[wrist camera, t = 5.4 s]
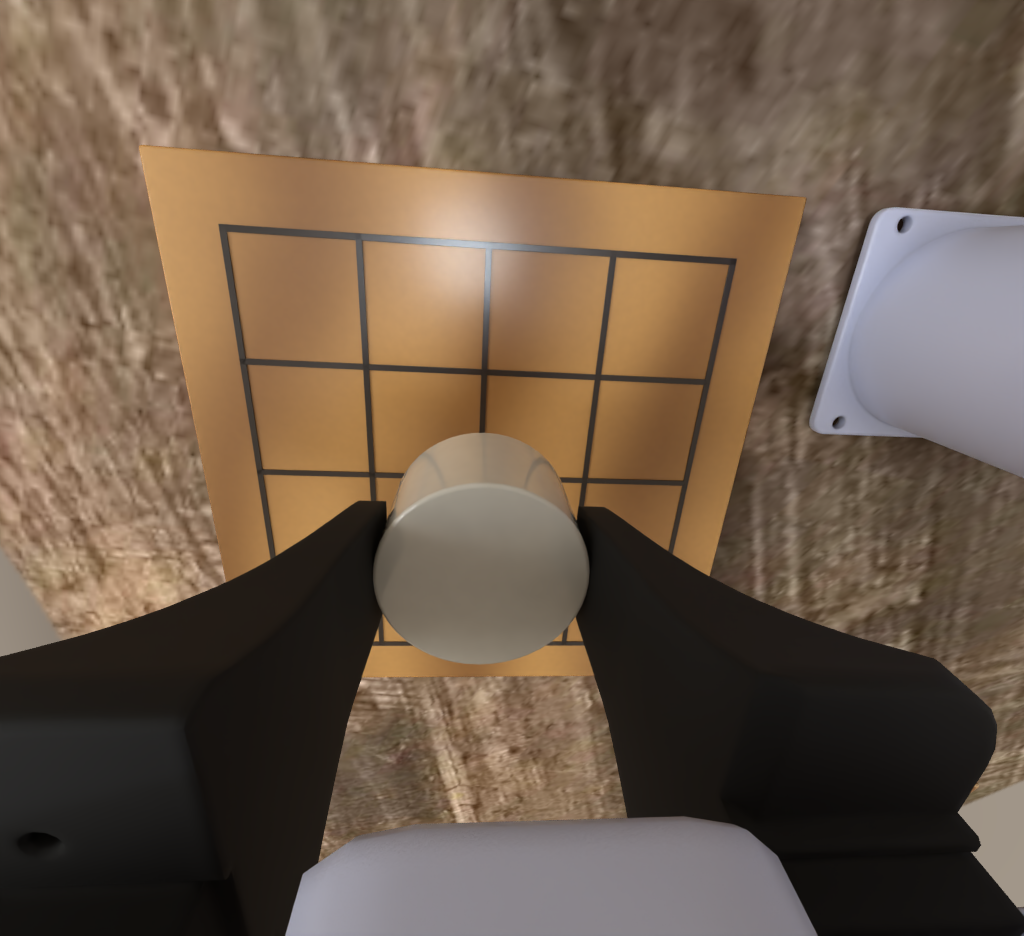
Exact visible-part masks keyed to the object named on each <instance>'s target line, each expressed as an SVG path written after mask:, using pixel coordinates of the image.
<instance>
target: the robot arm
mask: <svg viewBox="0 0 1024 936" xmlns="http://www.w3.org/2000/svg"><path fill="white" fill-rule="evenodd" d="M900 219H902V220H903V227H902V229H901V230H900V231H899V232H898V230H897V224H898V222H899V221H900ZM837 417H839V420H838V422H837V423H836V424H835V425H834V426H832V425H833V421H834V420H835V419H836V418H837ZM809 425H810V428H811V429H812V430H813V431H815V432H817V433H820V434H835V435H863V436H890V437H918V438H925V439H927V440H930V441H932V442H935V443H937V444H940V445H942V446H945V447H947V448H950V449H952V450H955V451H957V452H960V453H962V454H965V455H967V456H970V457H972V458H975V459H977V460H980V461H982V462H985V463H987V464H990V465H992V466H995V467H997V468H999V469H1002V470H1004V471H1007V472H1009V473H1012V474H1014V475H1017V476H1019V477H1022V478H1024V217H1014V216H1002V215H989V214H976V213H963V212H950V211H938V210H925V209H912V208H899V207H893V208H885V209H882V210H880V211H878V212H877V213H876V214H875V215H874V216H873V217H872V219H871V221H870V224H869V227H868V230H867V233H866V237H865V240H864V243H863V246H862V250H861V253H860V256H859V260H858V263H857V266H856V269H855V273H854V276H853V279H852V282H851V286H850V289H849V292H848V295H847V299H846V302H845V305H844V308H843V312H842V315H841V318H840V322H839V325H838V328H837V331H836V335H835V338H834V341H833V344H832V348H831V351H830V354H829V357H828V361H827V364H826V367H825V370H824V374H823V377H822V380H821V384H820V387H819V390H818V393H817V397H816V400H815V403H814V406H813V410H812V413H811V416H810V420H809ZM386 521H387V507H386V501H361V500H359V501H357V502H355V503H354V504H352V505H351V506H349V507H348V508H346V509H345V510H344V511H342V512H341V513H339V514H338V515H337V516H335V517H334V518H333V519H331V520H330V521H328V522H327V523H325V524H324V525H323V526H321V527H320V528H318V529H317V530H315V531H314V532H313V533H311V534H310V535H308V536H307V537H305V538H304V539H302V540H301V541H299V542H297V543H296V544H294V545H293V546H291V547H289V548H288V549H286V550H285V551H283V552H281V553H280V554H278V555H277V556H275V557H273V558H272V559H270V560H268V561H266V562H265V563H263V564H261V565H259V566H257V567H256V568H254V569H252V570H250V571H248V572H246V573H244V574H242V575H240V576H238V577H236V578H234V579H232V580H230V581H228V582H226V583H224V584H221V585H219V586H217V587H215V588H212V589H210V590H208V591H205V592H203V593H200V594H198V595H195V596H193V597H191V598H188V599H186V600H183V601H181V602H179V603H176V604H174V605H171V606H169V607H166V608H164V609H161V610H158V611H155V612H152V613H150V614H147V615H144V616H141V617H138V618H135V619H133V620H129V621H126V622H123V623H120V624H117V625H114V626H111V627H108V628H104V629H101V630H98V631H95V632H91V633H88V634H85V635H81V636H78V637H74V638H70V639H66V640H63V641H59V642H55V643H51V644H47V645H44V646H40V647H36V648H32V649H29V650H25V651H21V652H17V653H13V654H10V655H5V656H1V657H0V936H1024V907H1016V906H1015V905H1014V903H1013V902H1012V901H1011V900H1010V899H1009V897H1008V896H1007V895H1006V894H1005V893H1004V891H1003V890H1002V889H1001V888H1000V887H999V885H998V884H997V883H996V882H995V881H994V879H993V878H992V877H991V876H990V875H989V873H988V872H987V871H986V870H985V869H984V867H983V866H982V865H981V864H980V863H979V861H978V860H977V859H976V858H975V857H974V855H973V854H972V853H971V852H976V851H977V850H978V849H979V847H980V846H981V844H980V841H979V837H978V836H977V835H976V833H975V832H974V831H973V830H972V829H971V828H970V826H969V825H968V824H967V823H966V822H965V821H964V820H963V818H962V817H961V816H960V815H959V814H958V811H959V810H960V808H961V806H962V805H963V803H964V802H965V800H966V799H967V797H968V795H969V794H970V792H971V791H972V789H973V788H974V786H975V784H976V783H977V781H978V780H979V778H980V777H981V775H982V774H983V772H984V770H985V769H986V767H987V765H988V763H989V761H990V759H991V757H992V755H993V752H994V750H995V745H996V735H997V724H996V721H995V718H994V716H993V713H992V710H991V709H990V708H989V707H988V706H987V705H986V704H985V703H984V702H983V701H982V700H981V699H980V698H979V697H978V696H977V695H976V694H975V693H973V692H972V691H971V690H970V689H969V688H968V687H967V686H966V685H964V684H963V683H962V682H961V681H960V680H959V679H958V678H957V677H955V676H954V675H953V674H952V673H951V672H950V671H949V670H948V669H946V668H945V667H944V666H943V665H942V664H941V663H940V662H938V661H937V660H935V659H934V658H930V657H926V656H923V655H919V654H915V653H912V652H908V651H905V650H901V649H897V648H894V647H890V646H886V645H883V644H879V643H875V642H872V641H868V640H865V639H861V638H858V637H855V636H851V635H848V634H845V633H842V632H839V631H837V630H834V629H831V628H828V627H825V626H822V625H819V624H816V623H813V622H810V621H808V620H805V619H802V618H800V617H797V616H794V615H792V614H789V613H787V612H784V611H782V610H779V609H777V608H775V607H772V606H770V605H768V604H765V603H763V602H761V601H758V600H756V599H754V598H751V597H749V596H747V595H745V594H743V593H741V592H739V591H737V590H735V589H733V588H731V587H729V586H727V585H725V584H723V583H721V582H719V581H717V580H715V579H713V578H711V577H710V576H708V575H706V574H704V573H702V572H701V571H699V570H697V569H696V568H694V567H692V566H691V565H689V564H687V563H686V562H684V561H683V560H681V559H679V558H678V557H676V556H675V555H673V554H672V553H670V552H669V551H667V550H666V549H664V548H663V547H661V546H660V545H658V544H657V543H655V542H654V541H652V540H651V539H650V538H648V537H647V536H645V535H644V534H643V533H641V532H640V531H639V530H637V529H636V528H634V527H633V526H632V525H630V524H629V523H628V522H626V521H625V520H623V519H622V518H621V517H619V516H618V515H616V514H615V513H613V512H612V511H610V510H609V509H607V508H605V507H591V506H578V513H577V520H576V521H577V524H578V526H579V529H580V531H581V534H582V537H583V539H584V542H585V545H586V548H587V552H588V556H589V563H590V576H589V585H588V589H587V594H586V596H585V599H584V601H583V604H582V606H581V608H580V610H579V612H578V614H577V615H576V621H577V624H578V627H579V630H580V633H581V636H582V640H583V643H584V646H585V649H586V652H587V655H588V658H589V661H590V664H591V667H592V670H593V673H594V677H595V680H596V683H597V686H598V689H599V692H600V695H601V698H602V701H603V705H604V708H605V712H606V716H607V719H608V723H609V728H610V733H611V738H612V742H613V747H614V752H615V756H616V761H617V766H618V771H619V776H620V781H621V786H622V791H623V797H624V802H625V807H626V812H627V817H628V818H613V819H580V820H546V821H512V822H478V823H444V824H415V825H410V826H405V827H400V828H395V829H390V830H385V831H380V832H375V833H370V834H364V835H359V836H357V837H355V838H354V839H353V840H351V841H350V842H348V843H347V844H345V845H344V846H342V847H341V848H339V849H338V850H337V851H335V852H334V853H332V854H331V855H329V856H328V857H326V858H325V859H323V860H322V861H320V862H319V863H318V860H319V855H320V850H321V845H322V840H323V835H324V829H325V824H326V820H327V815H328V810H329V805H330V801H331V796H332V791H333V786H334V781H335V777H336V772H337V767H338V763H339V758H340V754H341V749H342V745H343V740H344V736H345V731H346V727H347V723H348V719H349V716H350V712H351V709H352V705H353V702H354V699H355V696H356V693H357V690H358V687H359V684H360V681H361V678H362V675H363V672H364V669H365V666H366V663H367V660H368V657H369V654H370V651H371V648H372V645H373V642H374V639H375V636H376V633H377V630H378V627H379V624H380V621H381V617H382V614H383V613H382V611H381V609H380V607H379V605H378V602H377V599H376V596H375V592H374V586H373V562H374V557H375V553H376V550H377V547H378V544H379V541H380V539H381V536H382V533H383V530H384V527H385V524H386Z"/></svg>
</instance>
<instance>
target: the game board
mask: <svg viewBox="0 0 1024 936" xmlns="http://www.w3.org/2000/svg"><path fill="white" fill-rule="evenodd" d="M139 151H140V156H141V161H142V166H143V171H144V176H145V180H146V185H147V190H148V195H149V200H150V205H151V210H152V215H153V220H154V225H155V230H156V235H157V240H158V245H159V250H160V255H161V260H162V265H163V270H164V275H165V280H166V285H167V290H168V295H169V300H170V305H171V310H172V315H173V320H174V325H175V330H176V335H177V340H178V345H179V350H180V355H181V360H182V365H183V370H184V375H185V380H186V385H187V390H188V394H189V399H190V404H191V409H192V414H193V419H194V424H195V429H196V434H197V439H198V444H199V449H200V454H201V459H202V464H203V469H204V474H205V479H206V484H207V489H208V494H209V499H210V504H211V509H212V514H213V519H214V524H215V529H216V534H217V539H218V544H219V549H220V554H221V559H222V564H223V569H224V574H225V579H226V582H228V581H230V580H232V579H234V578H236V577H238V576H240V575H242V574H244V573H246V572H248V571H250V570H252V569H254V568H256V567H257V566H259V565H261V564H263V563H265V562H266V561H268V560H270V559H272V558H273V557H275V556H277V555H278V554H280V553H281V552H283V551H285V550H286V549H288V548H289V547H291V546H293V545H294V544H296V543H297V542H299V541H301V540H302V539H304V538H305V537H307V536H308V535H310V534H311V533H313V532H314V531H315V530H317V529H318V528H320V527H321V526H323V525H324V524H325V523H327V522H328V521H330V520H331V519H333V518H334V517H335V516H337V515H338V514H339V513H341V512H342V511H344V510H345V509H346V508H348V507H349V506H351V505H352V504H354V503H355V502H357V501H359V500H361V501H386V507H387V518H388V515H389V512H390V509H391V507H392V504H393V501H394V498H395V495H396V492H397V489H398V486H399V484H400V481H401V479H402V477H403V476H404V474H405V472H406V471H407V469H408V468H409V467H410V465H411V464H412V463H413V462H414V461H415V460H416V459H417V458H418V457H419V456H420V455H421V454H422V453H423V452H425V451H426V450H427V449H429V448H430V447H432V446H434V445H436V444H437V443H439V442H441V441H444V440H446V439H449V438H452V437H455V436H459V435H463V434H470V433H493V434H500V435H504V436H508V437H511V438H514V439H517V440H519V441H521V442H523V443H525V444H527V445H529V446H531V447H532V448H534V449H535V450H536V451H538V452H539V453H540V454H541V455H543V456H544V457H545V458H546V459H547V460H548V461H549V463H550V464H551V465H552V466H553V468H554V469H555V471H556V472H557V474H558V476H559V477H560V480H561V482H562V484H563V487H564V489H565V492H566V495H567V497H568V500H569V503H570V505H571V508H572V510H573V513H574V516H575V518H576V520H577V513H578V506H591V507H605V508H607V509H609V510H610V511H612V512H613V513H615V514H616V515H618V516H619V517H621V518H622V519H623V520H625V521H626V522H628V523H629V524H630V525H632V526H633V527H634V528H636V529H637V530H639V531H640V532H641V533H643V534H644V535H645V536H647V537H648V538H650V539H651V540H652V541H654V542H655V543H657V544H658V545H660V546H661V547H663V548H664V549H666V550H667V551H669V552H670V553H672V554H673V555H675V556H676V557H678V558H679V559H681V560H683V561H684V562H686V563H687V564H689V565H691V566H692V567H694V568H696V569H697V570H699V571H701V572H702V573H704V574H706V575H708V576H710V572H711V569H712V565H713V561H714V557H715V553H716V549H717V545H718V541H719V537H720V534H721V530H722V526H723V522H724V518H725V514H726V510H727V506H728V503H729V499H730V495H731V491H732V487H733V483H734V479H735V475H736V471H737V468H738V464H739V460H740V456H741V452H742V448H743V444H744V440H745V437H746V433H747V429H748V425H749V421H750V417H751V413H752V409H753V405H754V402H755V398H756V394H757V390H758V386H759V382H760V378H761V374H762V370H763V367H764V363H765V359H766V355H767V351H768V347H769V343H770V339H771V336H772V332H773V328H774V324H775V320H776V316H777V312H778V308H779V304H780V301H781V297H782V293H783V289H784V285H785V281H786V277H787V273H788V269H789V266H790V262H791V258H792V254H793V250H794V246H795V242H796V238H797V235H798V231H799V227H800V223H801V219H802V215H803V211H804V207H805V203H806V198H805V197H796V196H783V195H770V194H757V193H745V192H732V191H719V190H707V189H694V188H681V187H669V186H656V185H643V184H631V183H618V182H605V181H593V180H580V179H567V178H554V177H542V176H529V175H516V174H504V173H491V172H478V171H466V170H453V169H440V168H428V167H415V166H402V165H390V164H377V163H364V162H351V161H339V160H326V159H313V158H301V157H288V156H275V155H263V154H250V153H237V152H225V151H212V150H199V149H187V148H174V147H161V146H148V145H140V146H139ZM483 676H594V673H593V670H592V667H591V664H590V661H589V658H588V655H587V652H586V649H585V646H584V643H583V640H582V636H581V633H580V630H579V627H578V624H577V621H576V617H575V618H574V619H573V621H572V622H571V623H570V625H569V626H568V627H567V628H566V629H565V630H564V631H563V632H562V633H561V634H560V635H559V636H558V637H557V638H555V639H554V640H553V641H552V642H550V643H549V644H547V645H546V646H544V647H542V648H541V649H539V650H537V651H535V652H533V653H531V654H529V655H526V656H523V657H521V658H518V659H514V660H510V661H506V662H501V663H495V664H481V665H477V664H463V663H456V662H451V661H447V660H443V659H440V658H437V657H435V656H432V655H429V654H427V653H425V652H423V651H421V650H419V649H417V648H416V647H414V646H413V645H411V644H410V643H408V642H407V641H406V640H405V639H404V638H402V637H401V636H400V635H399V634H398V633H397V632H396V631H395V630H394V629H393V628H392V626H391V625H390V624H389V622H388V621H387V619H386V618H385V616H384V615H383V614H382V617H381V621H380V624H379V627H378V630H377V633H376V636H375V639H374V642H373V645H372V648H371V651H370V654H369V657H368V660H367V663H366V666H365V669H364V672H363V675H362V677H483Z"/></svg>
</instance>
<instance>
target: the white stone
mask: <svg viewBox="0 0 1024 936" xmlns="http://www.w3.org/2000/svg"><path fill="white" fill-rule="evenodd" d="M589 576H590V563H589V556H588V552H587V548H586V545H585V542H584V539H583V537H582V534H581V531H580V529H579V526H578V524H577V521H576V518H575V516H574V513H573V510H572V508H571V505H570V503H569V500H568V497H567V495H566V492H565V489H564V487H563V484H562V482H561V480H560V477H559V476H558V474H557V472H556V471H555V469H554V468H553V466H552V465H551V464H550V463H549V461H548V460H547V459H546V458H545V457H544V456H543V455H541V454H540V453H539V452H538V451H536V450H535V449H534V448H532V447H531V446H529V445H527V444H525V443H523V442H521V441H519V440H517V439H514V438H511V437H508V436H504V435H500V434H493V433H470V434H463V435H459V436H455V437H452V438H449V439H446V440H444V441H441V442H439V443H437V444H436V445H434V446H432V447H430V448H429V449H427V450H426V451H425V452H423V453H422V454H421V455H420V456H419V457H418V458H417V459H416V460H415V461H414V462H413V463H412V464H411V465H410V467H409V468H408V469H407V471H406V472H405V474H404V476H403V477H402V479H401V481H400V484H399V486H398V489H397V492H396V495H395V498H394V501H393V504H392V507H391V509H390V512H389V515H388V518H387V521H386V524H385V527H384V530H383V533H382V536H381V539H380V541H379V544H378V547H377V550H376V553H375V557H374V562H373V586H374V592H375V596H376V599H377V602H378V605H379V607H380V609H381V611H382V613H383V615H384V616H385V618H386V619H387V621H388V622H389V624H390V625H391V626H392V628H393V629H394V630H395V631H396V632H397V633H398V634H399V635H400V636H401V637H402V638H404V639H405V640H406V641H407V642H408V643H410V644H411V645H413V646H414V647H416V648H417V649H419V650H421V651H423V652H425V653H427V654H429V655H432V656H435V657H437V658H440V659H443V660H447V661H451V662H456V663H463V664H477V665H481V664H495V663H501V662H506V661H510V660H514V659H518V658H521V657H523V656H526V655H529V654H531V653H533V652H535V651H537V650H539V649H541V648H542V647H544V646H546V645H547V644H549V643H550V642H552V641H553V640H554V639H555V638H557V637H558V636H559V635H560V634H561V633H562V632H563V631H564V630H565V629H566V628H567V627H568V626H569V625H570V623H571V622H572V621H573V619H574V618H575V617H576V615H577V614H578V612H579V610H580V608H581V606H582V604H583V601H584V599H585V596H586V594H587V589H588V585H589Z"/></svg>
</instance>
